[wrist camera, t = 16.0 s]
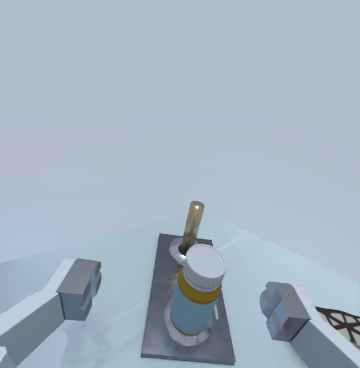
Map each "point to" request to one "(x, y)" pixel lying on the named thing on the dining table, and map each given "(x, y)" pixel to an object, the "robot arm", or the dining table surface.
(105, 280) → the dining table surface
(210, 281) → the bottle
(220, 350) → the gauge plate
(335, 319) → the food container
